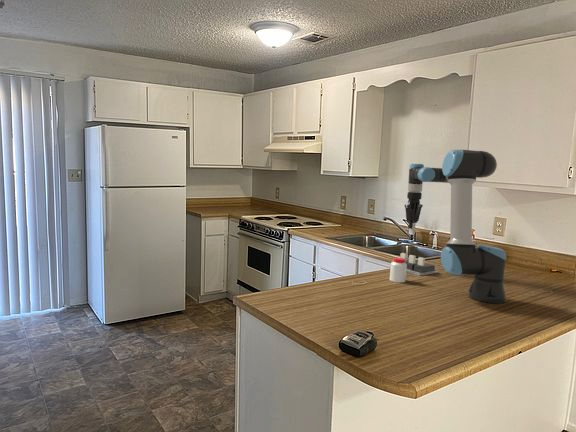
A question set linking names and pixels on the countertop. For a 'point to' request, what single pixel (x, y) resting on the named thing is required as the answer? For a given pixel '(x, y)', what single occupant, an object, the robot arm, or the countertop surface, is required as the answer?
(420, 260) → the handle far
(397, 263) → the pill bottle
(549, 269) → the countertop surface
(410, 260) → the handle mid
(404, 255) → the handle
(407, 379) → the countertop surface
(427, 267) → the panel
